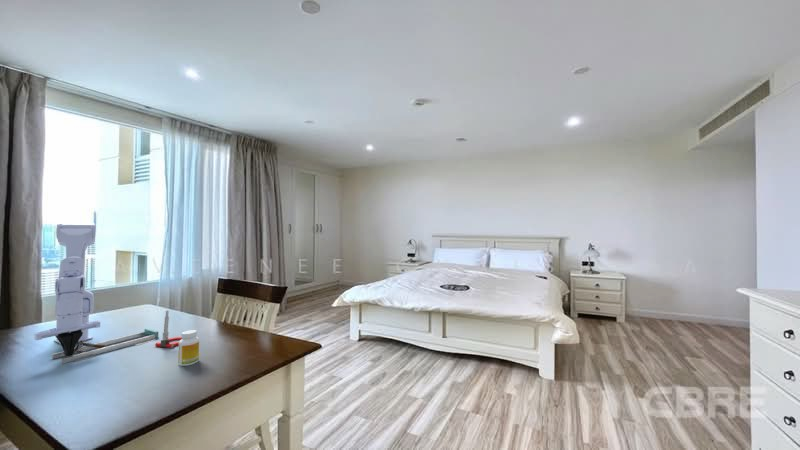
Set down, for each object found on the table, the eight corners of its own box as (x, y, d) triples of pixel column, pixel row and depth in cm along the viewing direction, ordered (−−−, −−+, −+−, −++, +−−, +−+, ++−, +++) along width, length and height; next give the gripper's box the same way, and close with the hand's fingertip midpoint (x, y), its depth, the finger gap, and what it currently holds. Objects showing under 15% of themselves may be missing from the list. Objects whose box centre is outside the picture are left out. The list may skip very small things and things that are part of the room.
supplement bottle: (202, 360, 99) (203, 330, 99) (186, 367, 94) (187, 335, 94) (190, 358, 101) (191, 328, 101) (174, 364, 96) (174, 333, 96)
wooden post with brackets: (67, 353, 101) (76, 339, 102) (98, 356, 106) (106, 343, 108) (67, 354, 100) (76, 340, 101) (99, 358, 105) (106, 344, 106)
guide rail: (51, 358, 99) (51, 350, 99) (147, 334, 122) (147, 328, 122) (63, 365, 94) (64, 357, 94) (160, 338, 118) (160, 332, 118)
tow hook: (175, 339, 119) (152, 347, 109) (177, 305, 119) (155, 310, 110) (194, 340, 117) (173, 349, 108) (196, 306, 118) (175, 311, 109)
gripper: (40, 320, 91) (39, 366, 91) (104, 309, 104) (103, 349, 104) (32, 317, 94) (31, 361, 94) (95, 307, 107) (94, 346, 107)
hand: (68, 355), depth 99 cm, fingers closed
